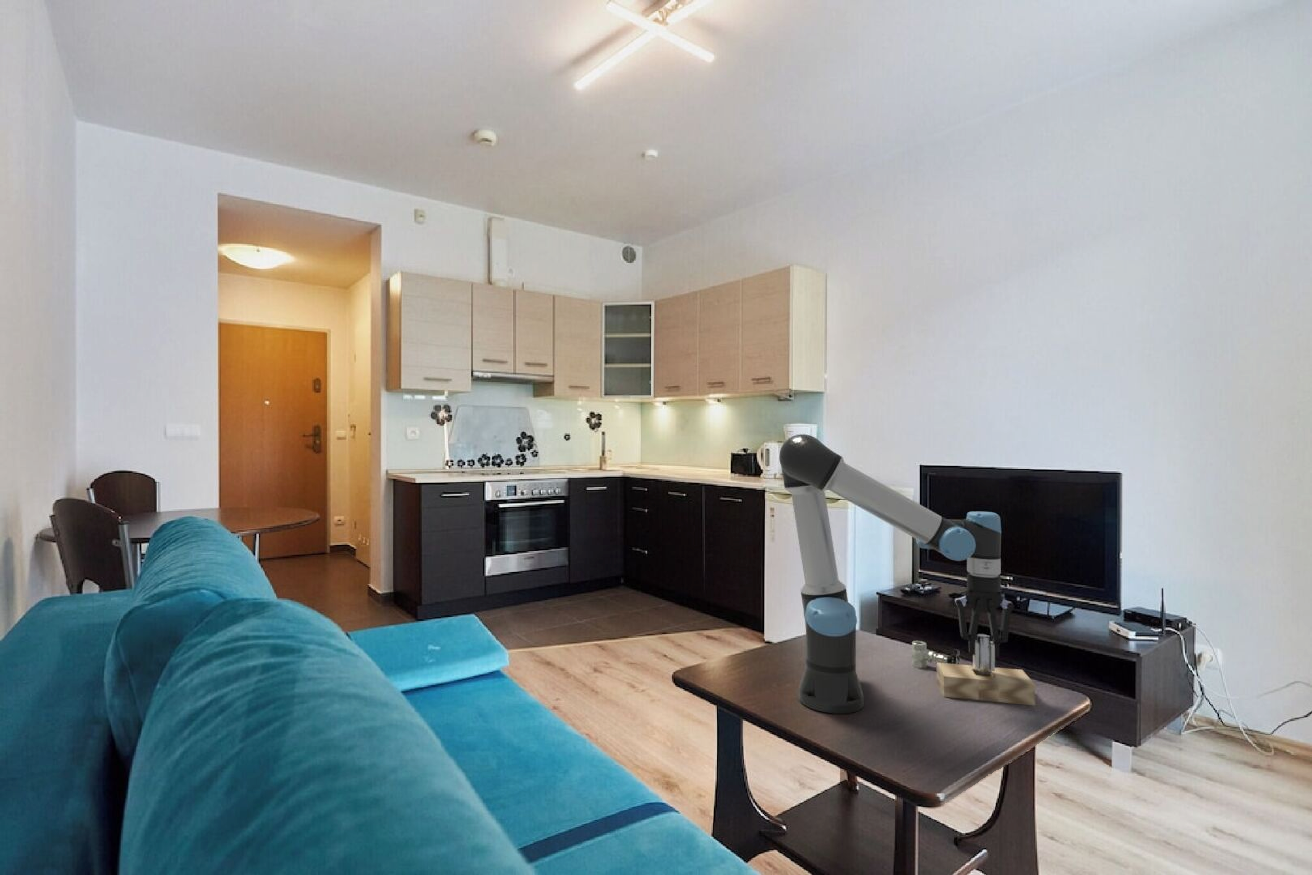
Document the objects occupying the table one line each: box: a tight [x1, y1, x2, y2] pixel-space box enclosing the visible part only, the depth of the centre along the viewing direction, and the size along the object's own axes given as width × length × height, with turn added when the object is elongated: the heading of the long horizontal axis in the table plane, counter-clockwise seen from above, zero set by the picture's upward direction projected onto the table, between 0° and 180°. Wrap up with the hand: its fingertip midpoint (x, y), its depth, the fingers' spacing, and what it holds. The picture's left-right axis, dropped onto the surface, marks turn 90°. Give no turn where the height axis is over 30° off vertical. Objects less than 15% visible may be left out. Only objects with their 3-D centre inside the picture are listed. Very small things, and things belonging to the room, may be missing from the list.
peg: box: [976, 633, 992, 677], centre depth 158 cm, size 3×3×13 cm
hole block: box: [936, 662, 1036, 706], centre depth 158 cm, size 20×10×5 cm, turn 75°
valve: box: [910, 640, 961, 669], centre depth 175 cm, size 7×7×12 cm
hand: (983, 668), depth 158 cm, fingers closed on peg, 3 cm apart
